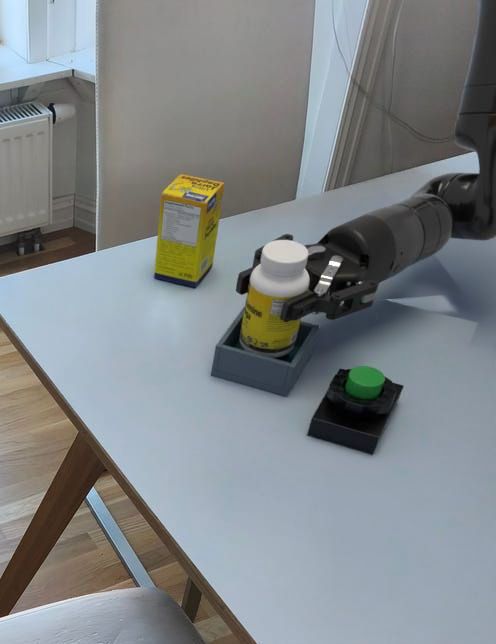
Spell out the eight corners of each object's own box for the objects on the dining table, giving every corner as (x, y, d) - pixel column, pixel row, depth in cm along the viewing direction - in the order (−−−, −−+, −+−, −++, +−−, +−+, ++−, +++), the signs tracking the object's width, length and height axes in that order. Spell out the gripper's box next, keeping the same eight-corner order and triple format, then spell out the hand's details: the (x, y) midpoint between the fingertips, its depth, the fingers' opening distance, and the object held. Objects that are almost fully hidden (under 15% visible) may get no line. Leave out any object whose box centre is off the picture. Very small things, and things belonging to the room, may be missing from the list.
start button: (384, 385, 92) (389, 371, 91) (374, 404, 90) (379, 390, 89) (350, 376, 94) (354, 362, 92) (340, 394, 92) (344, 380, 90)
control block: (397, 402, 96) (409, 370, 93) (373, 454, 91) (384, 423, 88) (334, 384, 99) (343, 353, 96) (306, 435, 93) (315, 403, 90)
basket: (312, 355, 102) (320, 325, 99) (287, 396, 98) (294, 367, 95) (238, 335, 105) (243, 306, 102) (210, 375, 100) (215, 345, 98)
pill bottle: (232, 331, 101) (248, 237, 93) (286, 327, 102) (306, 233, 93) (245, 362, 98) (263, 268, 89) (300, 358, 98) (323, 263, 89)
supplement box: (212, 267, 115) (226, 181, 107) (195, 289, 112) (207, 202, 104) (170, 257, 117) (180, 172, 109) (152, 278, 114) (161, 192, 105)
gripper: (330, 192, 100) (220, 238, 95) (433, 242, 92) (319, 295, 87) (315, 255, 106) (210, 302, 100) (410, 308, 98) (302, 361, 93)
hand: (261, 298), depth 94 cm, fingers closed on pill bottle, 6 cm apart
